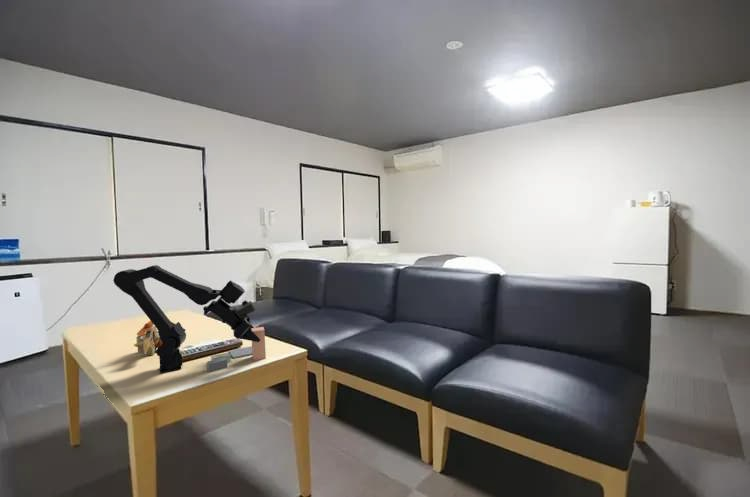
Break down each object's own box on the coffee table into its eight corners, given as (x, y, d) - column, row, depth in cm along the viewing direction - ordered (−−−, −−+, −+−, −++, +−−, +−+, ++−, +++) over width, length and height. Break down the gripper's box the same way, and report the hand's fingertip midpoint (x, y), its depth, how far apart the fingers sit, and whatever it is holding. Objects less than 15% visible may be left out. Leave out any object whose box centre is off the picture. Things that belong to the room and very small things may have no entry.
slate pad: (233, 358, 134) (233, 357, 134) (228, 352, 141) (228, 350, 141) (262, 352, 140) (262, 351, 140) (256, 346, 147) (256, 345, 147)
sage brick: (213, 366, 127) (212, 358, 127) (211, 364, 130) (211, 356, 129) (230, 362, 131) (230, 354, 131) (228, 360, 133) (228, 352, 133)
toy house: (167, 346, 151) (165, 315, 150) (155, 364, 131) (152, 327, 130) (145, 349, 148) (143, 317, 147) (129, 367, 128) (126, 330, 128)
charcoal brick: (209, 372, 122) (208, 364, 122) (207, 370, 124) (206, 361, 124) (227, 367, 126) (226, 359, 125) (225, 365, 128) (224, 357, 128)
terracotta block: (253, 360, 132) (251, 331, 131) (252, 356, 136) (251, 328, 135) (265, 358, 133) (264, 329, 133) (264, 354, 138) (263, 326, 137)
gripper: (241, 299, 123) (276, 326, 127) (240, 291, 140) (270, 315, 145) (218, 325, 120) (254, 351, 125) (219, 313, 137) (251, 337, 142)
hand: (258, 337), depth 134 cm, fingers open, 9 cm apart
